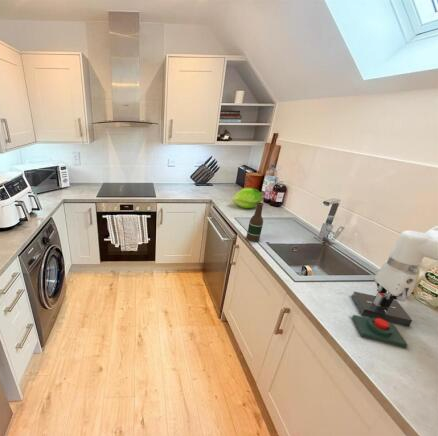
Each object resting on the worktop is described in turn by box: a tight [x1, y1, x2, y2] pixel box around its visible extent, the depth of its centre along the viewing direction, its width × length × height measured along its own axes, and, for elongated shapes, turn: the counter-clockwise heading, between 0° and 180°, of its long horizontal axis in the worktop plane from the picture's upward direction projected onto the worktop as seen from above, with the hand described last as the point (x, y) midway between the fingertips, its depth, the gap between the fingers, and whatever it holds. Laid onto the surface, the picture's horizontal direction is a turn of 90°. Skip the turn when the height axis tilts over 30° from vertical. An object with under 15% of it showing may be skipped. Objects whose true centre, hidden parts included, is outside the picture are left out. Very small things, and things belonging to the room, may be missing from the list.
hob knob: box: [373, 292, 393, 306], centre depth 91 cm, size 5×2×5 cm, turn 86°
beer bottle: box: [246, 202, 264, 243], centre depth 143 cm, size 8×8×24 cm
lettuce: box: [230, 187, 263, 209], centre depth 195 cm, size 19×25×17 cm
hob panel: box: [351, 291, 413, 327], centre depth 93 cm, size 14×11×3 cm
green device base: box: [351, 314, 409, 349], centre depth 83 cm, size 12×9×4 cm
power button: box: [374, 318, 390, 330], centre depth 82 cm, size 4×4×2 cm
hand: (381, 303), depth 92 cm, fingers closed on hob knob, 2 cm apart
